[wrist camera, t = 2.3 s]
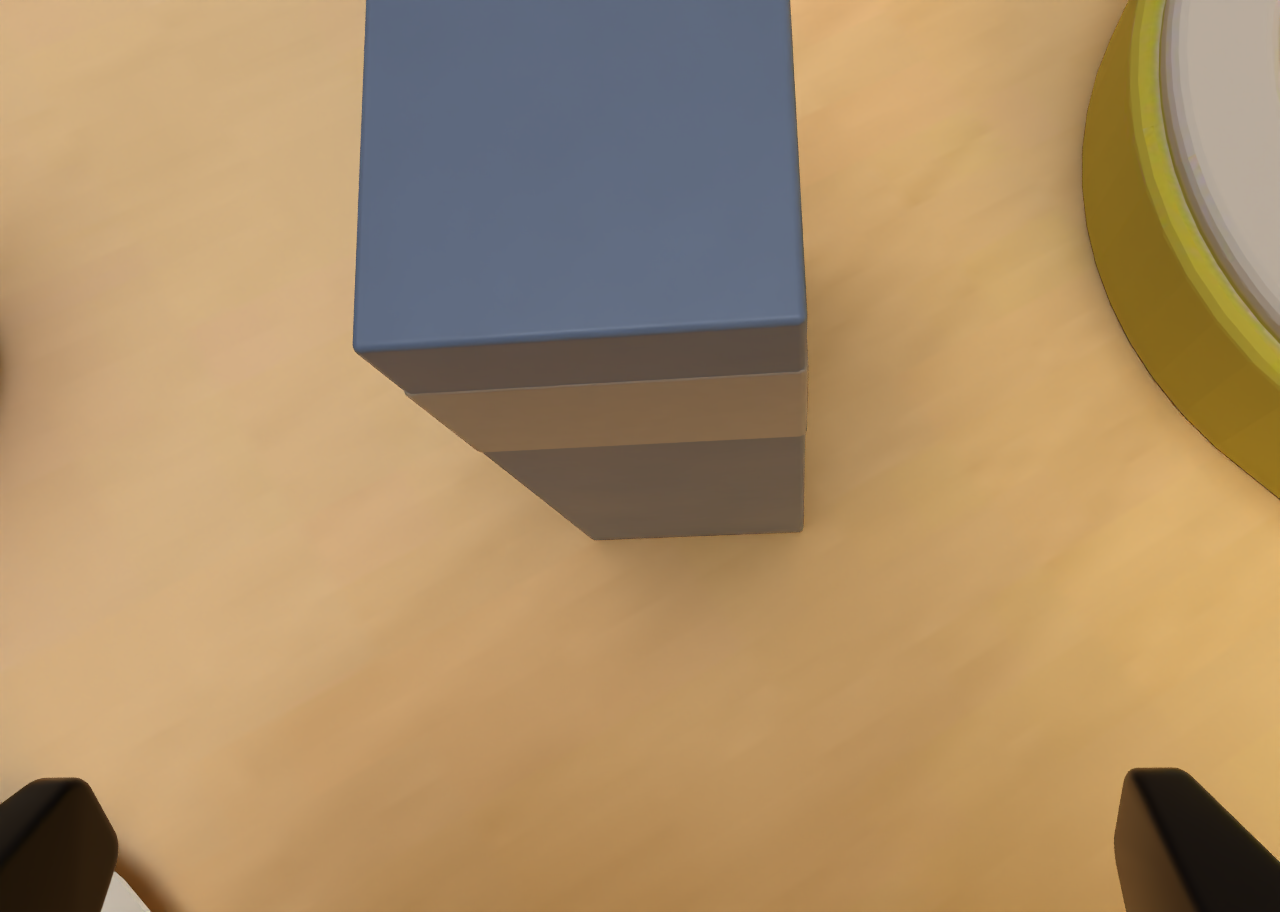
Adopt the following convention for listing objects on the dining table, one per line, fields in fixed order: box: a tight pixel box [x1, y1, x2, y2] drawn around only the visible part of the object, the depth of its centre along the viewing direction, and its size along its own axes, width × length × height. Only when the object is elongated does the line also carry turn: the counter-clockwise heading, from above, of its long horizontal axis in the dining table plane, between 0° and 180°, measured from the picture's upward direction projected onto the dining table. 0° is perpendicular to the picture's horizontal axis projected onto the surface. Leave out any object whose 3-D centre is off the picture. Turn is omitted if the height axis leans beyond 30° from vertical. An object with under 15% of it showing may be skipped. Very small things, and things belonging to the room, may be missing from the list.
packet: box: [353, 0, 808, 540], centre depth 17 cm, size 6×4×13 cm
